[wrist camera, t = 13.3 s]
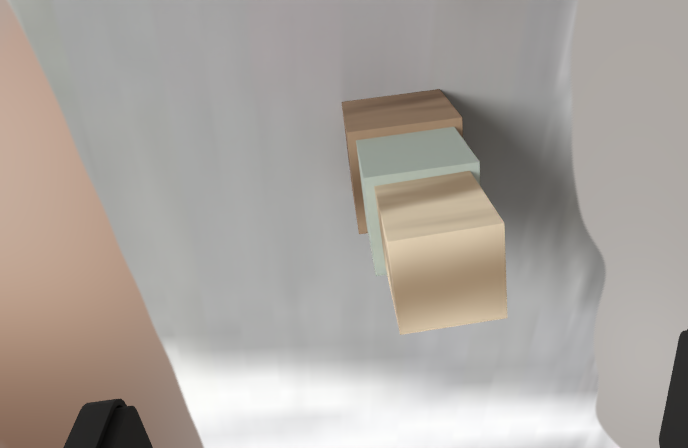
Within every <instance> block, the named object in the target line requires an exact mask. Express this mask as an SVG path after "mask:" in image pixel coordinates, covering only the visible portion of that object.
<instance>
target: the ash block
mask: <svg viewBox="0 0 688 448" xmlns="http://www.w3.org/2000/svg"><path fill="white" fill-rule="evenodd" d="M374 190H375V197H376V204H377V211H378V218H379V225H380V232H381V238H382V245H383V252H384V259H385V266H386V271H387V276H388V281H389V285H390V290H391V294H392V299H393V303H394V308H395V313H396V317H397V322H398V326H399V331H400V335H401V334H408V333H414V332H421V331H427V330H434V329H440V328H446V327H453V326H459V325H466V324H472V323H478V322H485V321H491V320H498V319H504V318H507V292H506V260H505V227H504V222H503V220H502V219H501V217H500V216H499V214H498V213H497V211H496V210H495V208H494V207H493V205H492V204H491V202H490V201H489V199H488V197H487V196H486V194H485V193H484V191H483V190H482V188H481V187H480V185H479V184H478V182H477V181H476V179H475V178H474V176H473V175H472V173H471V172H470V171H464V172H458V173H452V174H446V175H440V176H433V177H427V178H421V179H415V180H409V181H403V182H397V183H390V184H384V185H378V186H374Z"/></svg>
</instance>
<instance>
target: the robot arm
mask: <svg viewBox="0 0 688 448" xmlns="http://www.w3.org/2000/svg"><path fill="white" fill-rule="evenodd" d="M659 445H660V448H688V329H687V331H683V332H682V333H681V334H680V337H679V341H678V347H677V351H676V357H675V361H674V366H673V371H672V376H671V381H670V386H669V391H668V396H667V401H666V406H665V411H664V416H663V421H662V426H661V431H660V436H659ZM64 448H153V447H152V445H151V442H150V440H149V438H148V435H147V433H146V431H145V428H144V426H143V424H142V421H141V419H140V417H139V414H138V412H137V410H136V408H135V407H134V406H127V405H126V404H125V402H124V401H123V400H122V399H113V400H106V401H99V402H91V403H87V404H85V405H84V406H83V407H82V409H81V410H80V412H79V414H78V417H77V419H76V421H75V423H74V426H73V428H72V430H71V432H70V435H69V437H68V439H67V441H66V443H65V446H64Z"/></svg>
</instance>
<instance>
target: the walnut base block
mask: <svg viewBox="0 0 688 448" xmlns="http://www.w3.org/2000/svg"><path fill="white" fill-rule="evenodd" d="M342 109H343V117H344V125H345V133H346V141H347V149H348V158H349V166H350V174H351V182H352V190H353V197H354V204H355V210H356V217H357V223H358V230H359V234H364V233H368V231H367V224H366V216H365V208H364V200H363V193H362V185H361V177H360V169H359V161H358V153H357V145H356V140H362V139H369V138H377V137H384V136H391V135H398V134H405V133H412V132H419V131H426V130H433V129H440V128H448V127H455V129H456V130H457V131H458V133H459V134H460V135H461V137H462V138H463V126H462V117H461V115H460V114H459V113H458V112H457V110H456V109H455V108H454V107H453V105H452V104H451V103H450V102H449V100H448V99H447V98H446V97H445V95H444V94H443V93H442V92H441V90H440V89H437V90H430V91H422V92H414V93H407V94H399V95H391V96H384V97H376V98H368V99H361V100H353V101H345V102H342Z"/></svg>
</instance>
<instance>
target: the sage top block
mask: <svg viewBox="0 0 688 448" xmlns="http://www.w3.org/2000/svg"><path fill="white" fill-rule="evenodd" d="M356 145H357V153H358V161H359V169H360V177H361V185H362V193H363V200H364V208H365V216H366V224H367V231H368V236H369V242H370V247H371V253H372V258H373V264H374V269H375V275H376V276H380V275H387V271H386V266H385V259H384V252H383V245H382V238H381V232H380V225H379V218H378V211H377V204H376V197H375V190H374V186H378V185H384V184H390V183H397V182H403V181H409V180H415V179H421V178H427V177H433V176H440V175H446V174H452V173H458V172H464V171H470V172H471V173H472V175H473V176H474V178H475V179H476V181H477V182H478V184H479V185H480V162H479V160H478V159H477V158H476V156H475V155H474V153H473V152H472V151H471V149H470V148H469V147H468V145H467V144H466V142H465V141H464V140H463V138H462V137H461V135H460V134H459V133H458V131H457V130H456V129H455V127H448V128H440V129H433V130H426V131H419V132H412V133H405V134H398V135H391V136H384V137H377V138H369V139H362V140H356Z"/></svg>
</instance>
